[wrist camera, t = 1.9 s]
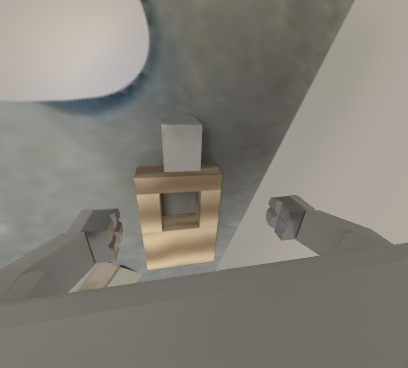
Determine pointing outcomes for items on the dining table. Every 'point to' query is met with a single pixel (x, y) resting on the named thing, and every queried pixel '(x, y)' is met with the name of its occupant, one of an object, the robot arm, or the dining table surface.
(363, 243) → the robot arm
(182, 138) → the metal bracket bar
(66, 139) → the dining table surface
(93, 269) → the beige slotted box
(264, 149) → the dining table surface
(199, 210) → the oak well block
